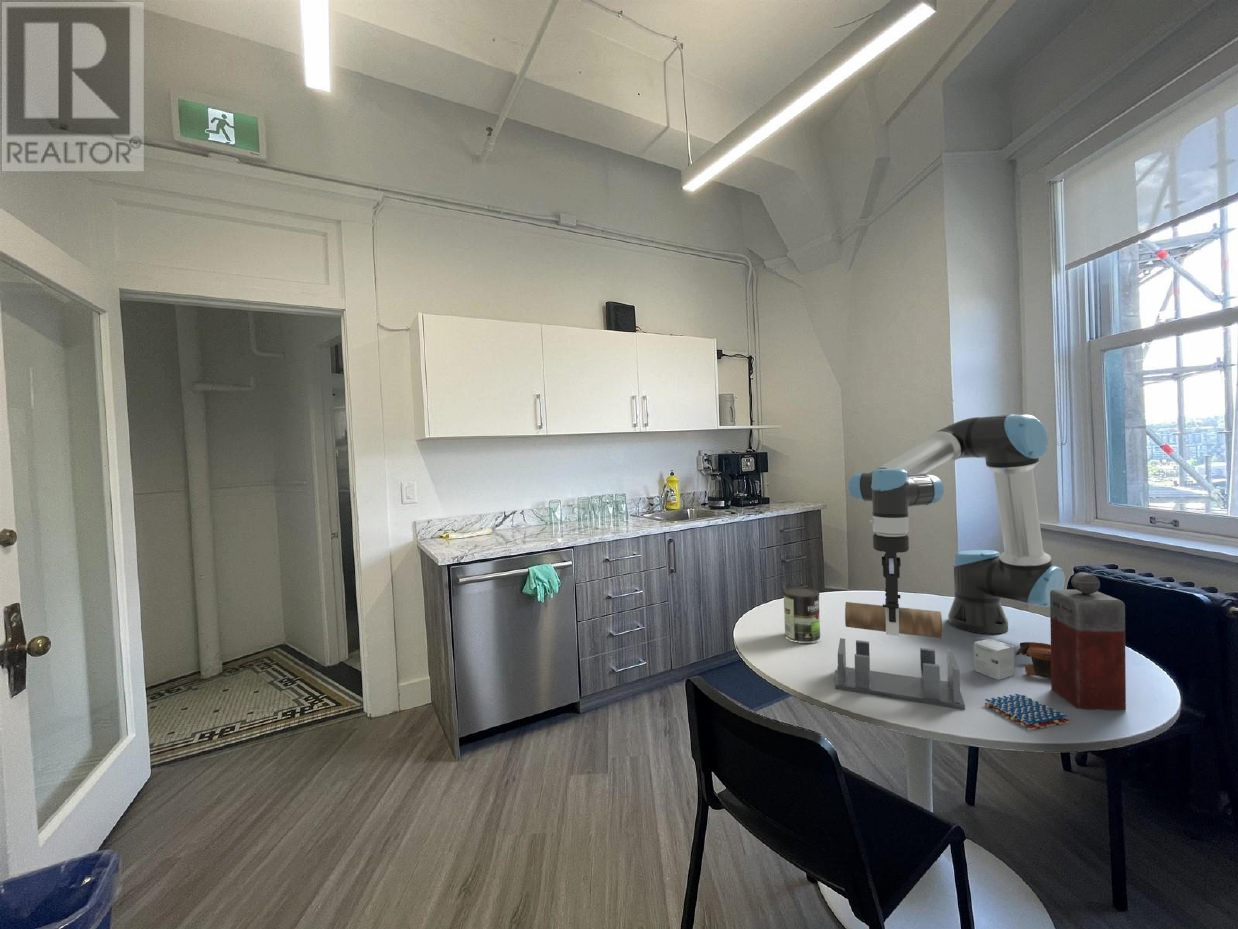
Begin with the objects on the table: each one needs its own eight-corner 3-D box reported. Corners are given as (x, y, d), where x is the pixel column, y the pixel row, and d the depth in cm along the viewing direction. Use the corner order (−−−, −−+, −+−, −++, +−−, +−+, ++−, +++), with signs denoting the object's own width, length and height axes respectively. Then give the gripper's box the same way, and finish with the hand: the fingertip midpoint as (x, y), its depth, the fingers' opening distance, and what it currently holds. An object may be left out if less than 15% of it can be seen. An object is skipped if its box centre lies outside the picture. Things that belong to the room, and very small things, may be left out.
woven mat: (1030, 734, 101) (1030, 723, 101) (982, 707, 112) (982, 698, 111) (1072, 726, 103) (1072, 716, 103) (1021, 701, 114) (1021, 692, 114)
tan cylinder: (939, 633, 120) (939, 608, 119) (942, 642, 115) (942, 616, 114) (846, 621, 129) (846, 598, 129) (845, 630, 124) (844, 606, 123)
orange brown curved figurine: (1010, 673, 126) (1007, 639, 130) (1030, 682, 130) (1027, 649, 134) (1070, 678, 117) (1065, 641, 120) (1090, 687, 120) (1084, 651, 124)
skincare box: (973, 670, 128) (972, 641, 128) (989, 666, 130) (989, 637, 130) (998, 680, 122) (998, 650, 122) (1015, 675, 124) (1014, 646, 124)
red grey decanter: (1088, 685, 118) (1086, 566, 117) (1126, 711, 107) (1125, 578, 106) (1044, 684, 119) (1042, 566, 118) (1078, 708, 108) (1076, 578, 107)
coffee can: (827, 637, 153) (825, 590, 153) (809, 647, 147) (808, 598, 146) (795, 629, 161) (794, 584, 161) (777, 638, 154) (776, 592, 154)
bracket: (957, 687, 120) (956, 651, 120) (965, 709, 110) (964, 671, 110) (837, 669, 132) (836, 637, 131) (834, 688, 122) (833, 653, 121)
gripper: (873, 527, 131) (875, 615, 132) (872, 539, 114) (874, 641, 115) (906, 528, 128) (908, 619, 128) (910, 541, 111) (912, 646, 111)
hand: (892, 629), depth 122 cm, fingers closed on tan cylinder, 6 cm apart
